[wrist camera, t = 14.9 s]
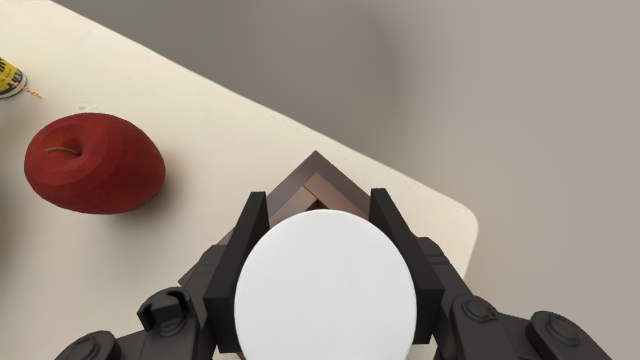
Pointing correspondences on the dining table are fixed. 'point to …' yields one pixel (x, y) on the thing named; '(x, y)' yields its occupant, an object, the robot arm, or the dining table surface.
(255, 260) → the pill bottle
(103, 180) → the apple
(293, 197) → the socket stand
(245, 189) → the dining table surface
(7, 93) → the supplement bottle
